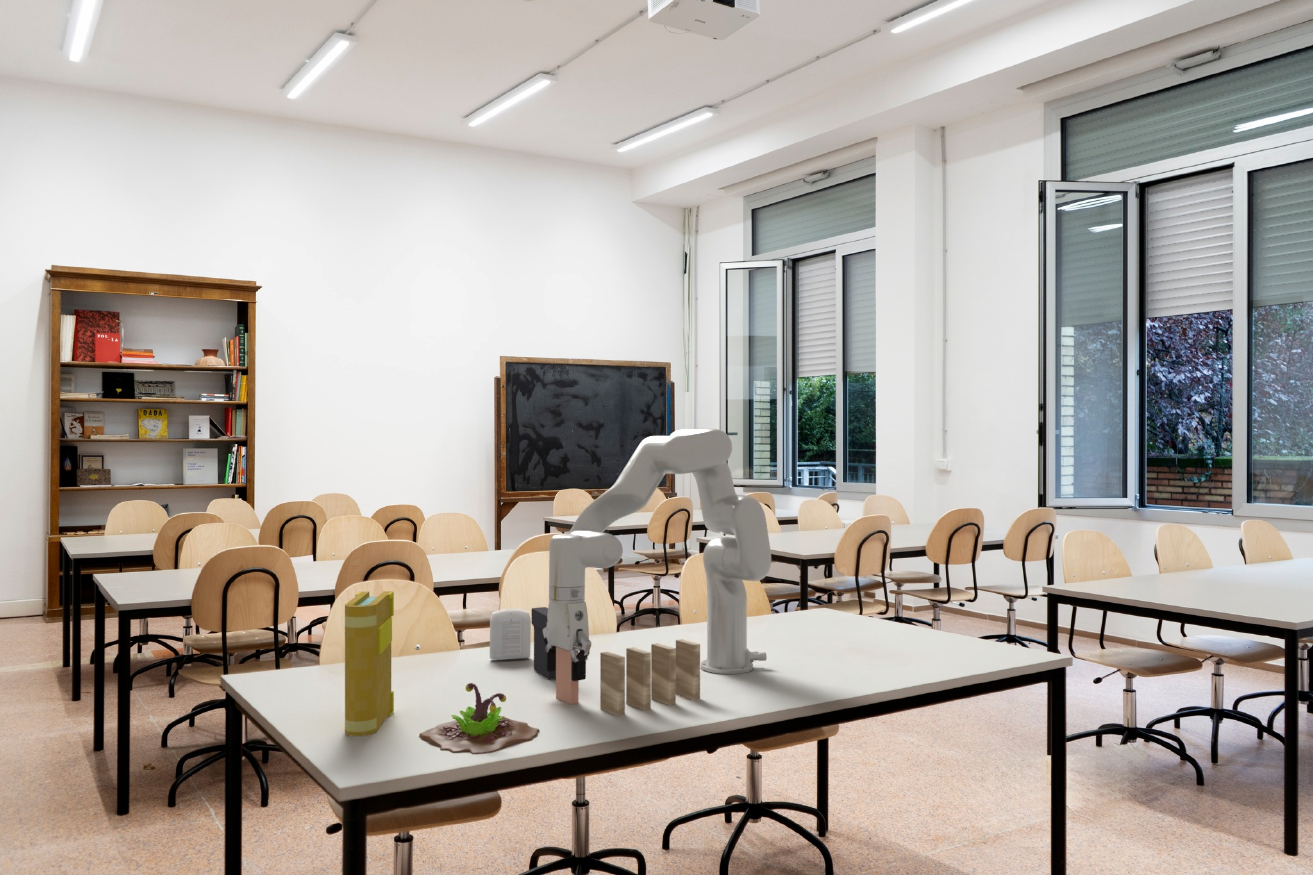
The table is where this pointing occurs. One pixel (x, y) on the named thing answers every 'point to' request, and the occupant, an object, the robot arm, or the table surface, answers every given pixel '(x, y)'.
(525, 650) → the grey headstone
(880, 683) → the table surface
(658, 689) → the domino
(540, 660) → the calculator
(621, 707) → the domino
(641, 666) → the domino
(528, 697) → the table surface
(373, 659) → the book
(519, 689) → the table surface
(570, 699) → the domino
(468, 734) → the plant
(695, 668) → the domino
